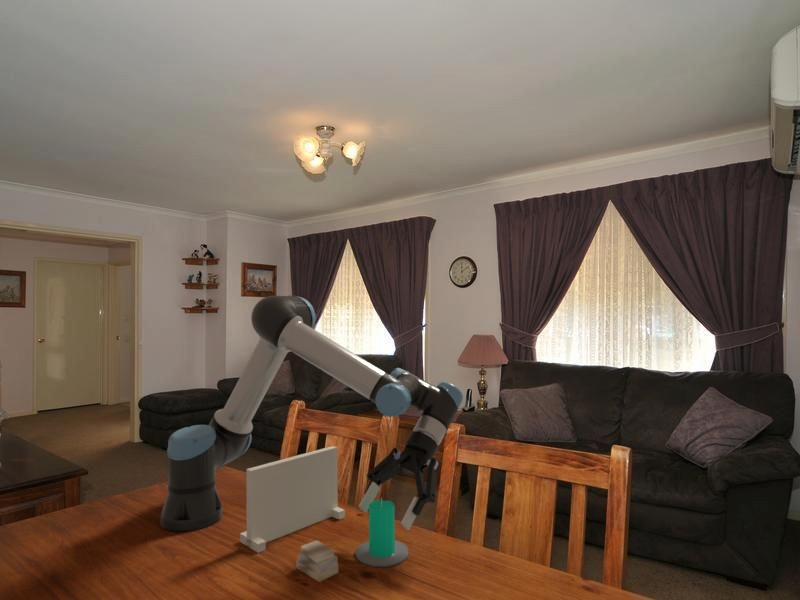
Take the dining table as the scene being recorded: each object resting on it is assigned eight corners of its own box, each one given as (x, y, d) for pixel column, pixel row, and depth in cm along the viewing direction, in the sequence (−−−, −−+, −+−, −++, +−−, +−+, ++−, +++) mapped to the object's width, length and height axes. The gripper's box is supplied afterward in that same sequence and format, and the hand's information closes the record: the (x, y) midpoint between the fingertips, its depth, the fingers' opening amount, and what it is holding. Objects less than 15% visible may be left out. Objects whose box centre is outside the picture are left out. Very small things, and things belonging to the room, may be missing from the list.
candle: (392, 558, 113) (391, 504, 113) (365, 556, 114) (365, 502, 114) (397, 545, 118) (397, 494, 118) (372, 543, 120) (372, 492, 120)
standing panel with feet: (240, 541, 122) (239, 466, 122) (325, 509, 141) (325, 443, 141) (258, 552, 117) (257, 473, 117) (344, 517, 136) (344, 449, 136)
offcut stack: (294, 568, 110) (294, 547, 110) (315, 559, 114) (315, 539, 114) (318, 583, 104) (318, 561, 104) (339, 572, 108) (339, 551, 108)
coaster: (344, 554, 116) (344, 551, 116) (382, 536, 125) (382, 533, 125) (381, 573, 108) (381, 570, 108) (419, 552, 116) (419, 550, 116)
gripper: (473, 457, 120) (432, 543, 109) (396, 438, 137) (354, 510, 126) (459, 439, 116) (416, 526, 105) (382, 421, 133) (338, 495, 122)
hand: (382, 518), depth 116 cm, fingers open, 13 cm apart
